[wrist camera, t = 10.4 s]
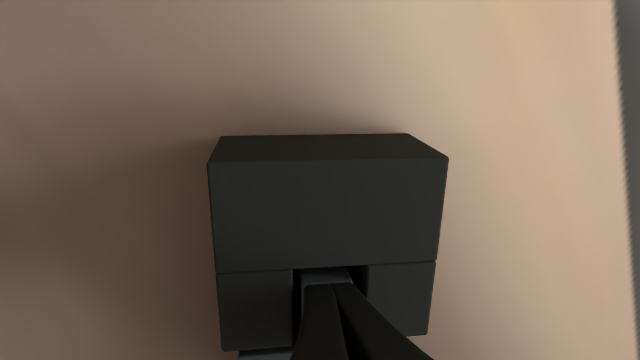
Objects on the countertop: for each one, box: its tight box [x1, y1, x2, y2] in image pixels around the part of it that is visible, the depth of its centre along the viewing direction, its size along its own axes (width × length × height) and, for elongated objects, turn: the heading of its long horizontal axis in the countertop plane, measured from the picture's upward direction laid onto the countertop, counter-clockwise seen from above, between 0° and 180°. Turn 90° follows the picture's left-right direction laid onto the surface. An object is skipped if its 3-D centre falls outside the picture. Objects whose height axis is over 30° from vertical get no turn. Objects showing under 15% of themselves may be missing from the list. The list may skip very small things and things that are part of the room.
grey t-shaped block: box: [238, 266, 353, 360], centre depth 13 cm, size 6×5×3 cm
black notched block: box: [207, 134, 449, 352], centre depth 12 cm, size 6×6×3 cm
